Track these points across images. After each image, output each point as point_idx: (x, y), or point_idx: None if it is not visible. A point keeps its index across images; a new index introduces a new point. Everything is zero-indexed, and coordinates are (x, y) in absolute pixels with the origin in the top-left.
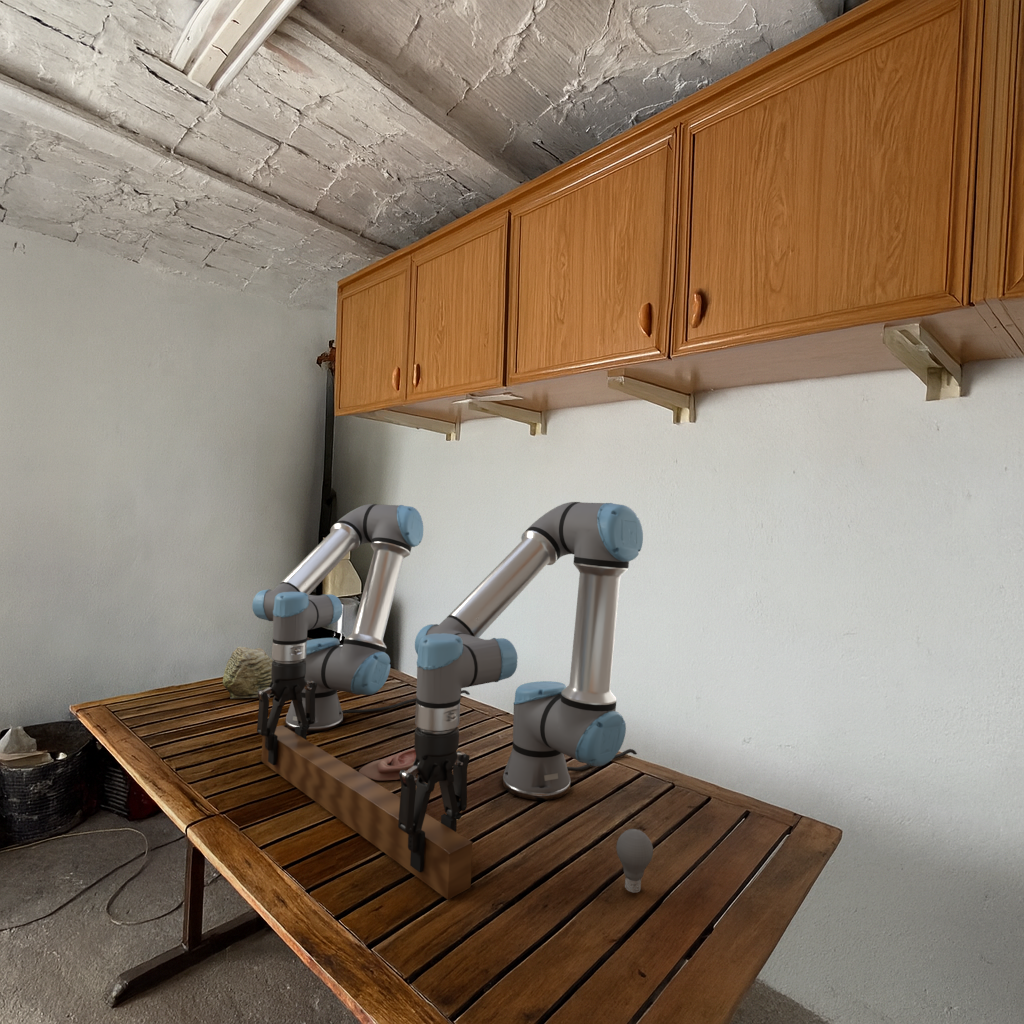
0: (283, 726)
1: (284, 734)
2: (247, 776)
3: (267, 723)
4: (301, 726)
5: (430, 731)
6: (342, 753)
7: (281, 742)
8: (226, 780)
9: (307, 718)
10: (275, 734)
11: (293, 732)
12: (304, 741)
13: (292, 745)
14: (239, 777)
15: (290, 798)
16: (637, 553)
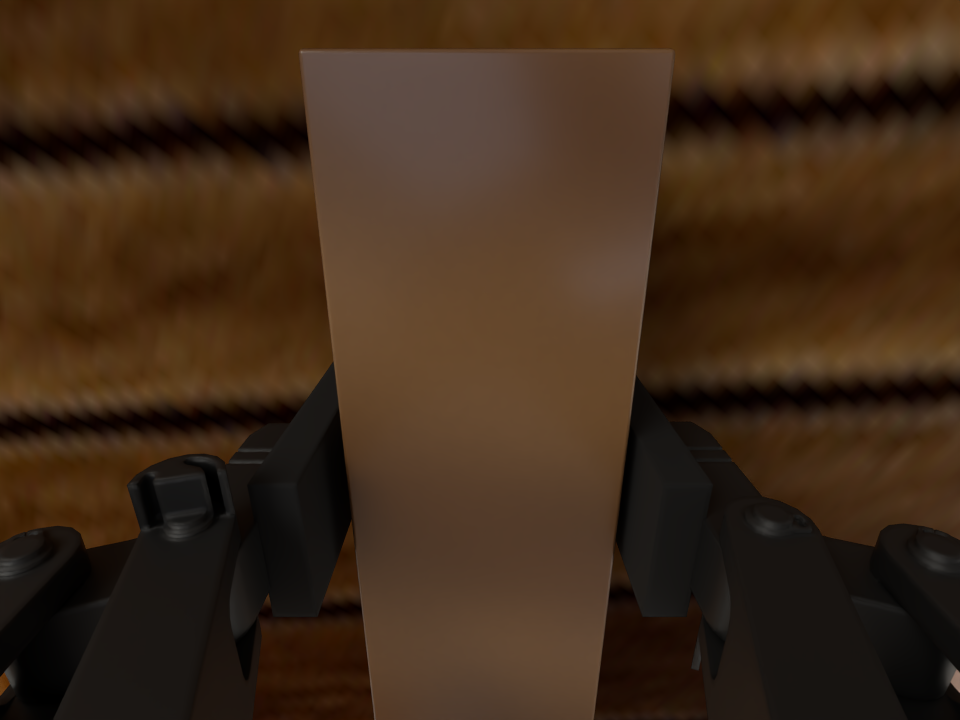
0: (651, 125)
1: (492, 441)
2: (215, 313)
3: (96, 652)
4: (705, 592)
5: None
6: (932, 371)
7: (362, 609)
8: (68, 284)
9: (901, 628)
10: (397, 372)
11: (618, 444)
12: (560, 705)
13: (421, 717)
14: (161, 294)
15: (345, 671)
16: None
